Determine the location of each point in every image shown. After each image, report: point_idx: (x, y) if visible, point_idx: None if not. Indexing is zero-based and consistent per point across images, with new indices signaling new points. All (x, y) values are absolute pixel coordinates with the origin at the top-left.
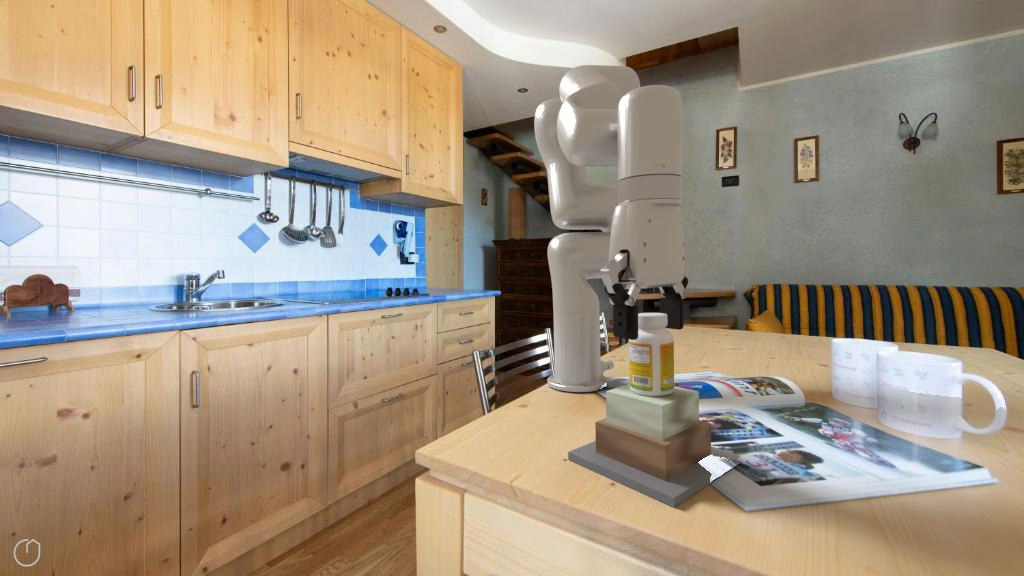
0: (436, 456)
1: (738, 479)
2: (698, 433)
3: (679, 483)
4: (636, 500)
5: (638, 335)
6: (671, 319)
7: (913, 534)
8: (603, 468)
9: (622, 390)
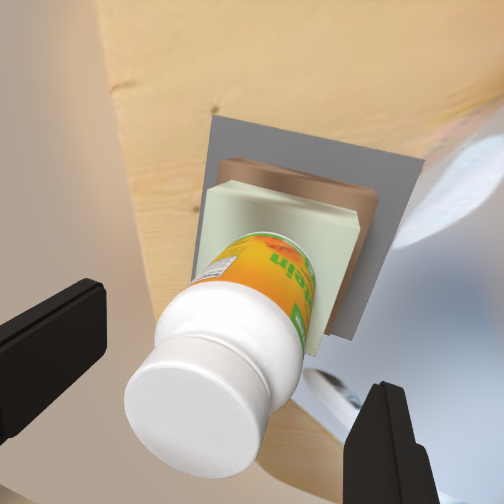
0: None
1: None
2: None
3: None
4: (182, 246)
5: (154, 340)
6: (357, 455)
7: (278, 443)
8: (203, 191)
9: (234, 219)
